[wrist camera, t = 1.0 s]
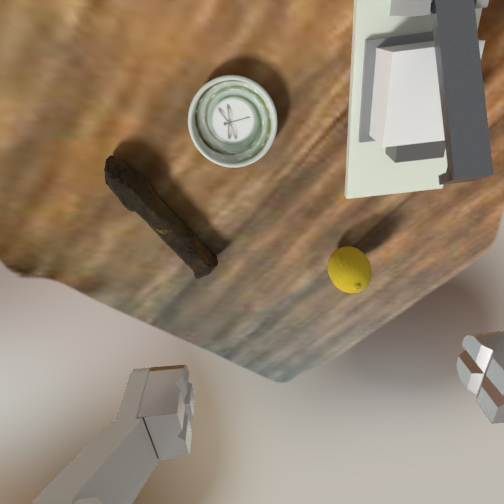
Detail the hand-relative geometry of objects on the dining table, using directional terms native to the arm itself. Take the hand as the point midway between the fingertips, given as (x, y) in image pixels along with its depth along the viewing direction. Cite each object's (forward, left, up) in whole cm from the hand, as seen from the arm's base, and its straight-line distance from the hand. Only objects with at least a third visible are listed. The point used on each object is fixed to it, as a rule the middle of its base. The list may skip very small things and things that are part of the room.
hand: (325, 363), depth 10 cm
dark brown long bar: (+12, -14, -35) cm, 39 cm away
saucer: (+1, -3, -35) cm, 35 cm away
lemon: (+21, +10, -34) cm, 42 cm away
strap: (-1, +16, -25) cm, 30 cm away
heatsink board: (0, +16, -34) cm, 38 cm away
